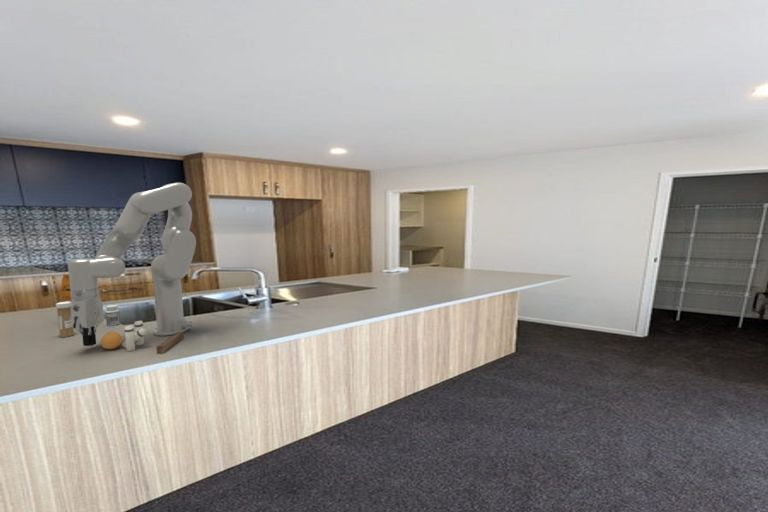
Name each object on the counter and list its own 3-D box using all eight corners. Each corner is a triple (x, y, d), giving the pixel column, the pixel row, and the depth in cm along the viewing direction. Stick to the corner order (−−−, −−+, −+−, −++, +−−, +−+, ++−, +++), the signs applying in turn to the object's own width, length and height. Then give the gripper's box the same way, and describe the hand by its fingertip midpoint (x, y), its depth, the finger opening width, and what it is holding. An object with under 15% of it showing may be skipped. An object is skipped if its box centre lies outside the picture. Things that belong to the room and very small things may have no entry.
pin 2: (146, 342, 133) (144, 320, 132) (142, 345, 130) (140, 322, 130) (138, 343, 133) (136, 320, 132) (134, 345, 130) (132, 322, 129)
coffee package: (72, 319, 167) (68, 272, 165) (101, 318, 168) (97, 271, 166) (56, 325, 157) (51, 275, 155) (87, 324, 158) (82, 274, 156)
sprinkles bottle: (73, 336, 142) (70, 302, 140) (58, 338, 139) (54, 304, 138) (75, 333, 146) (72, 300, 144) (60, 335, 143) (57, 302, 142)
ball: (110, 328, 129) (108, 344, 130) (97, 333, 124) (95, 350, 124) (126, 331, 130) (125, 347, 130) (115, 335, 124) (113, 352, 124)
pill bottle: (111, 323, 159) (109, 304, 159) (122, 322, 160) (121, 304, 159) (104, 326, 155) (102, 307, 154) (115, 326, 155) (114, 307, 154)
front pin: (130, 346, 130) (148, 332, 129) (125, 349, 127) (144, 335, 127) (124, 340, 129) (143, 326, 129) (120, 343, 127) (139, 329, 126)
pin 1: (136, 348, 127) (135, 325, 126) (132, 351, 125) (130, 327, 124) (129, 348, 127) (127, 325, 126) (124, 351, 124) (122, 327, 123)
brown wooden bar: (183, 338, 138) (183, 331, 138) (163, 353, 122) (162, 346, 122) (178, 338, 138) (177, 331, 138) (157, 353, 122) (156, 346, 122)
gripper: (81, 298, 118) (86, 352, 120) (110, 289, 133) (114, 337, 135) (56, 299, 117) (62, 353, 119) (88, 290, 132) (92, 338, 134)
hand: (89, 344), depth 127 cm, fingers closed
